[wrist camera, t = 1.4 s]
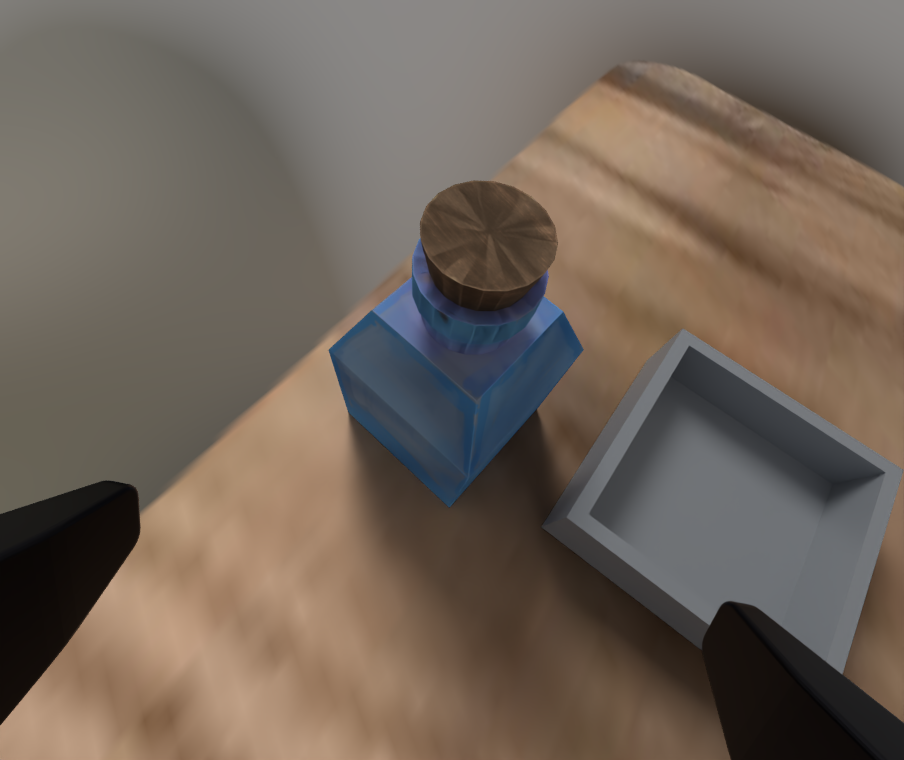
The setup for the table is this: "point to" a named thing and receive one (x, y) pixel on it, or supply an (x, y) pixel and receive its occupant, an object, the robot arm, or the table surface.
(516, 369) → the perfume bottle
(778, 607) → the tray
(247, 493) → the table surface
